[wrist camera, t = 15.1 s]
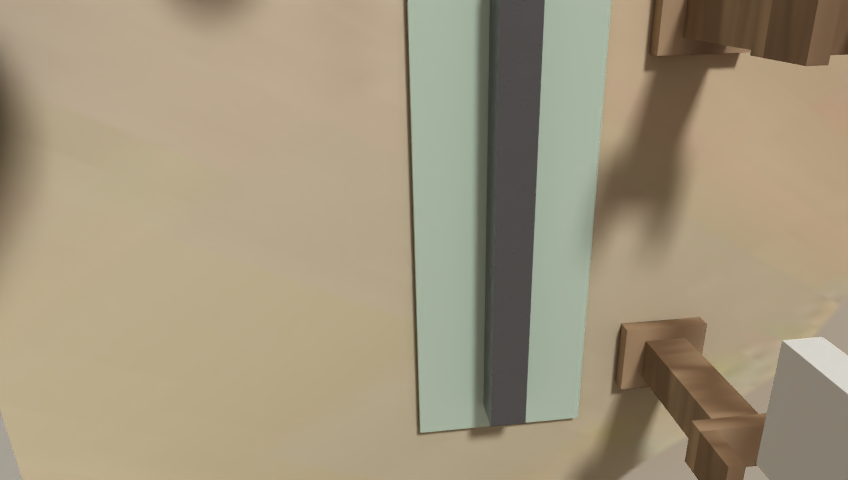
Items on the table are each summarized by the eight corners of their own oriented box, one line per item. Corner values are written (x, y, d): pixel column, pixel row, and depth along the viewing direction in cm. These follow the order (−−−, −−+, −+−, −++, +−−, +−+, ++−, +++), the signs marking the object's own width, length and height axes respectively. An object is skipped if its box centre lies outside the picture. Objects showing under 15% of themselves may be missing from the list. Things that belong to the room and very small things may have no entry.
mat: (419, 427, 49) (420, 433, 48) (404, -77, 36) (405, -78, 36) (575, 412, 50) (577, 417, 50) (613, -80, 37) (618, -81, 37)
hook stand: (615, 381, 50) (713, 524, 37) (659, -34, 39) (820, -39, 26) (690, 374, 50) (813, 512, 37) (754, -36, 39) (958, -42, 26)
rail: (483, 404, 48) (490, 426, 46) (490, -39, 37) (500, -40, 34) (516, 401, 48) (525, 422, 46) (533, -40, 37) (546, -41, 35)
